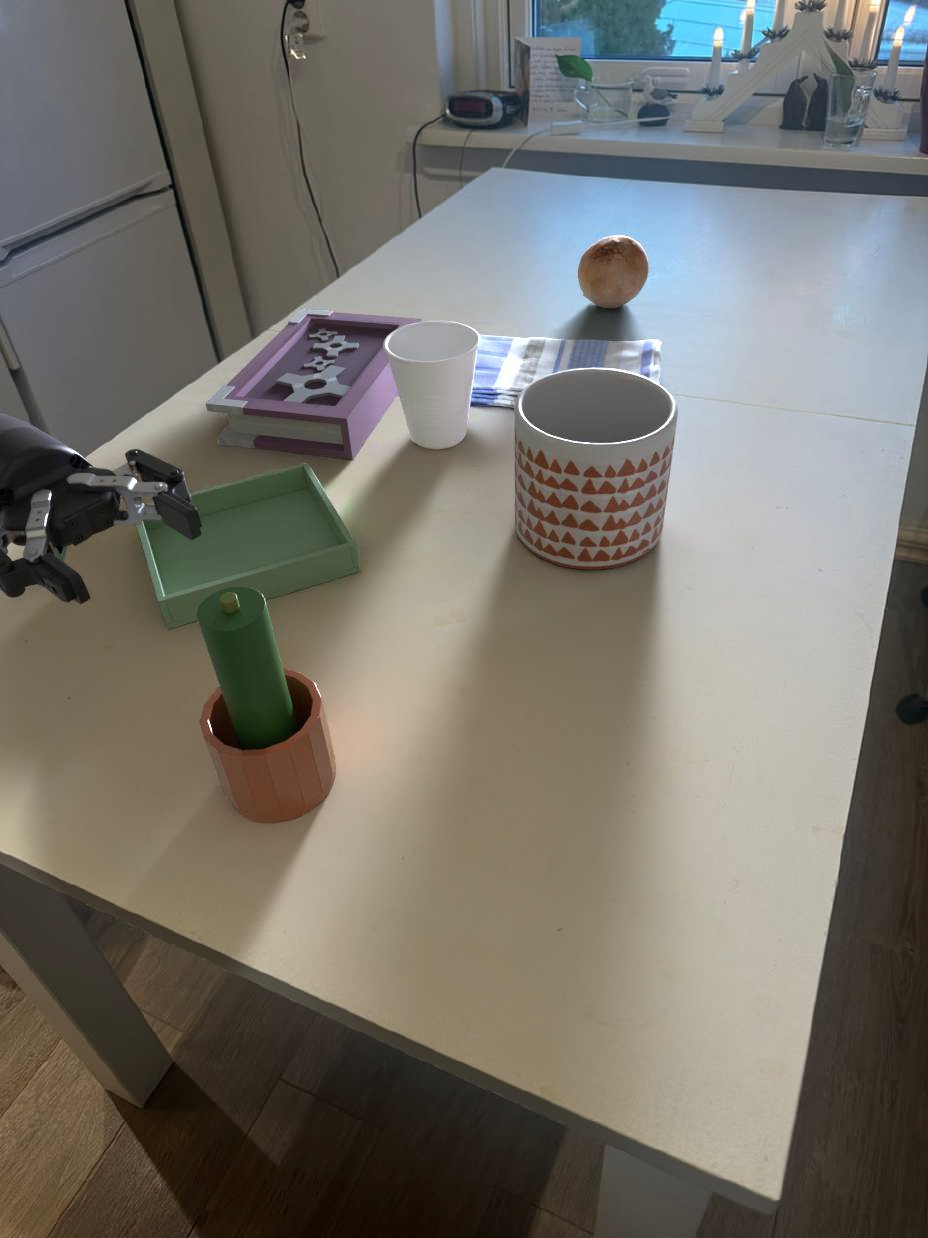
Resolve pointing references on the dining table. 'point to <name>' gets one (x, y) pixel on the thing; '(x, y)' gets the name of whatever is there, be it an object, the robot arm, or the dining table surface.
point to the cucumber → (248, 666)
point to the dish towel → (552, 363)
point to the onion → (613, 271)
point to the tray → (249, 542)
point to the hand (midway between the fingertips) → (141, 557)
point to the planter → (592, 466)
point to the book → (313, 386)
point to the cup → (434, 379)
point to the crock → (274, 758)
